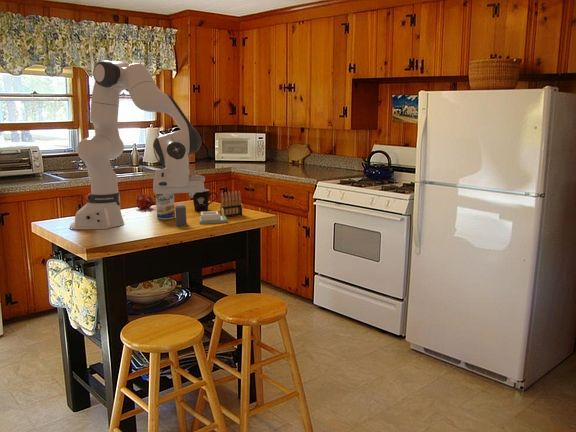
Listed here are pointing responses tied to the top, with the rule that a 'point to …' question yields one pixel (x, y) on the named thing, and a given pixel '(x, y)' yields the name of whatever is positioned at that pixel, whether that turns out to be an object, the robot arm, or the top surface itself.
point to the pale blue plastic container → (212, 217)
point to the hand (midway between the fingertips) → (179, 196)
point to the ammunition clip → (231, 204)
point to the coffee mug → (202, 200)
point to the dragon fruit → (144, 201)
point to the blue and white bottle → (165, 207)
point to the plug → (180, 215)
